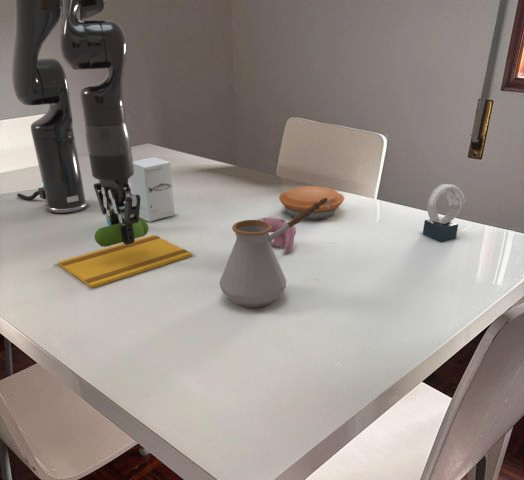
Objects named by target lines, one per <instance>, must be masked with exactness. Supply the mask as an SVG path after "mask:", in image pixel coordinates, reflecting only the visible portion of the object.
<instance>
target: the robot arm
mask: <svg viewBox="0 0 524 480" xmlns="http://www.w3.org/2000/svg"><path fill="white" fill-rule="evenodd" d="M106 4H107V3H106V0H14V11H15V12H14V13H15V14H14V16H15V17H14V19H15V21H14V22H15V24H14V41H13V51H12V60H11V62H12V63H11V64H12V65H11V79H12V82H11V83H12V87H13V91H14V94H15V97H16V98H17V100H18V101H19V103H21V104H22V105H24V106H27V107H36V106H46V105H47V106H48V107H49V108H48V110H47V111H46V112H45V113H44V115H42V116H41V117H40V118H38V119H37V120H35V121H33V122H32V123H31V124H30V133H31V136H32V141H33V146H34V150H35V154H36V160H37V165H38V169H39V174H40V178H41V183H42V187H38V189H37V190H36V191H35V192H33V193H32V194H31V195H25V194H23V193H17V194H16V196H17V198H20V199H23V200H25V201H32V200H35V199H36V198H37V197H38V196H39V198H40V199H42V200H45V201H46V208H47V211H49V212H50V213H55V214H69V213H74V212H78V211H81V210H84V209H85V208H87V205H88V204H87V200H86V196H85V190H84V184H83V177H82V173H81V167H80V161H79V156H78V151H77V146H76V140H75V139H76V138H75V134H74V130H73V129H74V128H73V114H72V106H71V99H70V91H69V83H68V78H67V73H66V72H65V69H64V67H63V65H62V63H61V62H60V61H59V60H58V59H57V58H54V57H53V58H52V57H46V58H45V57H43V58H39V55H40V52H41V49H42V47H43V45H44V44H45V42H46V41H47V39H48V38H49V37H50V35H51V34H52V33H53V31H54V30H55V28H57V25H58V24H59V23H60V21H61V24H60V25H61V26H60V35H59V46H60V47H59V48H60V53H61V56H62V58H63V60H64V62H65V63H66V64H67V65H68V67H70V68H71V69H72V70H76V71H88V70H91V71H92V70H105V69H106V70H107V73H106V75H105V77H104V79H103V80H101V81H99V82H97V83H93V84H90V85H87V86H85V87H83V88H82V89H81V90H80V102H81V107H82V113H83V119H84V126H85V140H86V145H87V153H88V158H89V165H90V170H91V175H92V177H93V178H94V179H96V180H97V181H99V180H100V183H99V182H97V183H93V189H94V192H95V194H96V195H95V196H96V198H97V202H98V205H99V207H100V210H101V213H102V215H104V216H106V215H107V219H108V220H110V226H111V225H114V224H118V223H120V225H121V226H120V227H121V234H122V240H123V242H122V244H123V243H124V244H126V245H128V244H131V243H134V241H135V240H136V239H134V232H133V224H134V223H138V222H139V218H140V217H139V212H140V196H139V195H138V194H137V195H133V194H132V193H131V185H130V178H129V177H130V176H132V175H133V174H134V167H133V161H134V160H133V152H132V146H131V145H132V144H131V138H130V137H131V136H130V133H129V128H128V124H127V119H126V111H125V104H124V103H125V102H124V75H125V69H126V68H125V67H126V62H127V61H126V60H127V53H128V52H127V51H128V41H127V37H126V34H125V31H124V30H123V28H122V27H121V25H120V24H119V23H118V22H117V21H114V20H111V19H110V20H109V19H104V20H103V19H101V20H100V19H99V20H88V19H91V18H93V17H97V16H98V15H99V14H101V13H102V12H103V11H104V10H105V8H106ZM123 206H125V208H122V209H121V207H123ZM123 213H124V217H123ZM107 219H106V220H107Z"/></svg>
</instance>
